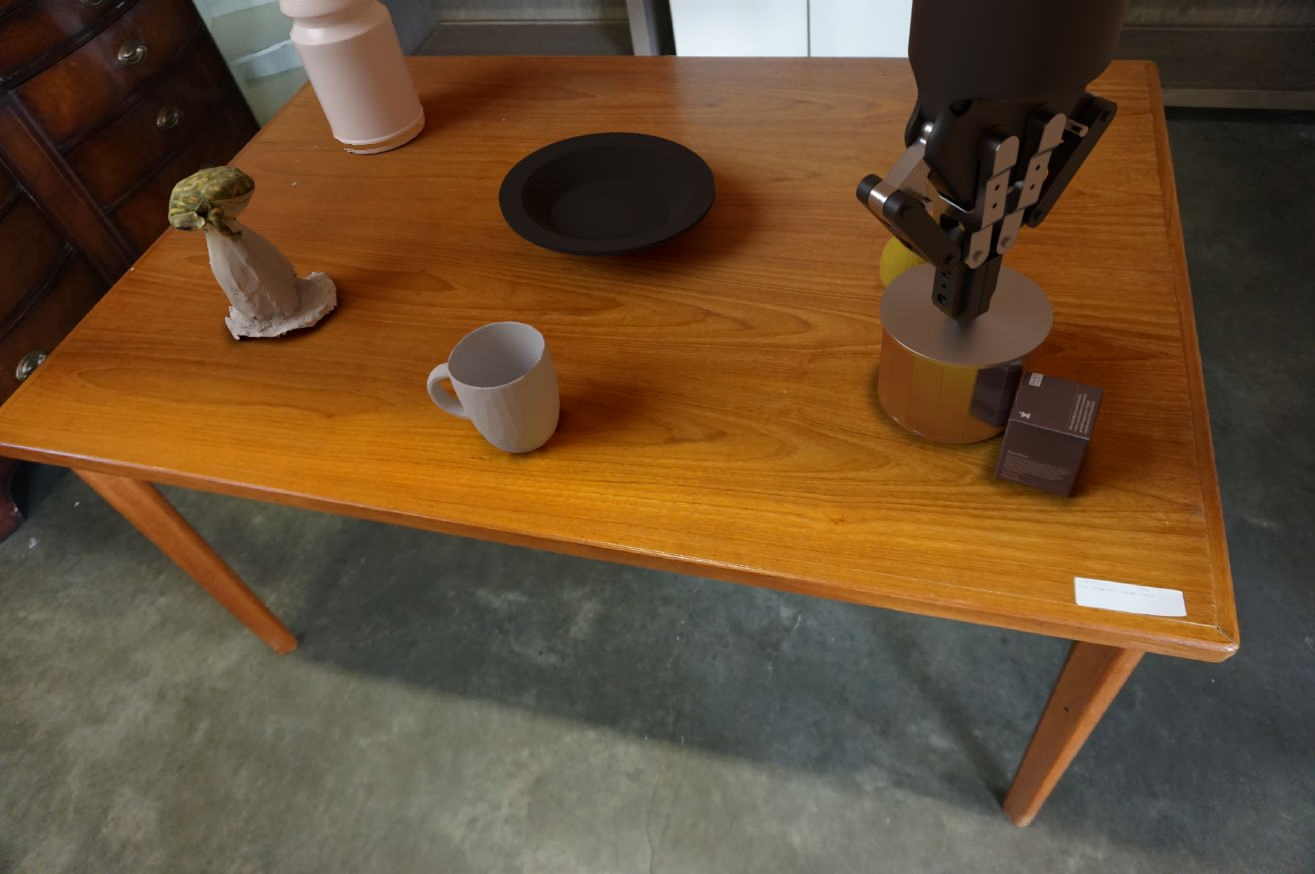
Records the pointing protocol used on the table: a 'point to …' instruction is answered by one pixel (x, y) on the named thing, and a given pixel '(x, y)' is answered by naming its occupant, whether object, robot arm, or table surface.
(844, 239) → the table surface
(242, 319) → the mushroom
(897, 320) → the pot lid
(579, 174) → the plate
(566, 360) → the table surface
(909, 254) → the lemon
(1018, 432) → the box
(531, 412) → the mug
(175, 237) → the table surface
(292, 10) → the bottle
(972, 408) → the pot
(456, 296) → the table surface
